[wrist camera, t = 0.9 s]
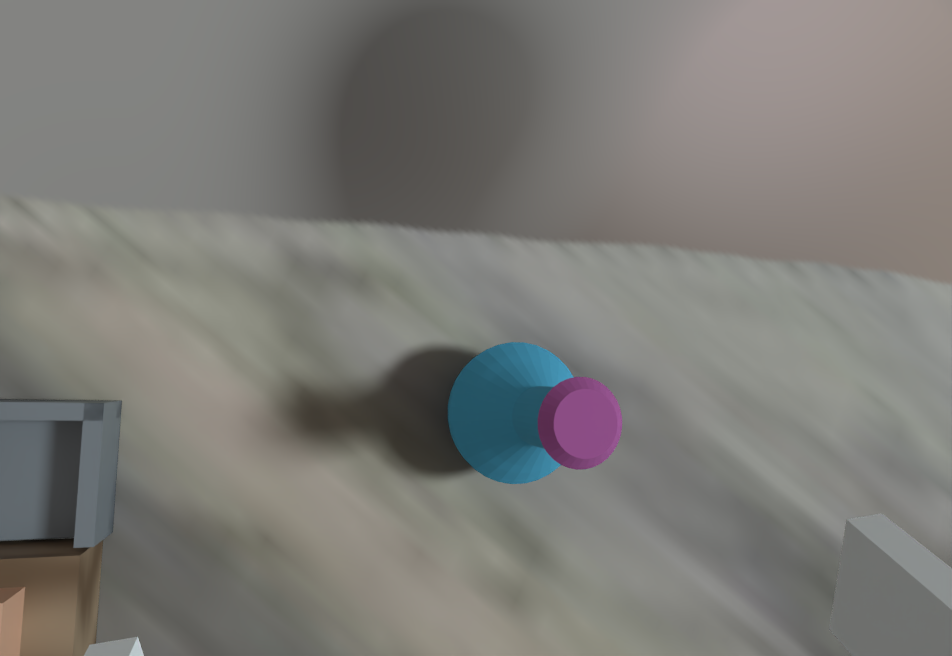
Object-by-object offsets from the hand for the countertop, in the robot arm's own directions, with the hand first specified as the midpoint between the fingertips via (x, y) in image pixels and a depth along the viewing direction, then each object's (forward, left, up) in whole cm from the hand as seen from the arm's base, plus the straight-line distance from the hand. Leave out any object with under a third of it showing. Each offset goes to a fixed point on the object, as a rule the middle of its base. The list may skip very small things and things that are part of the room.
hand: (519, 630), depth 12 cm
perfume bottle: (+3, -9, -32) cm, 34 cm away
